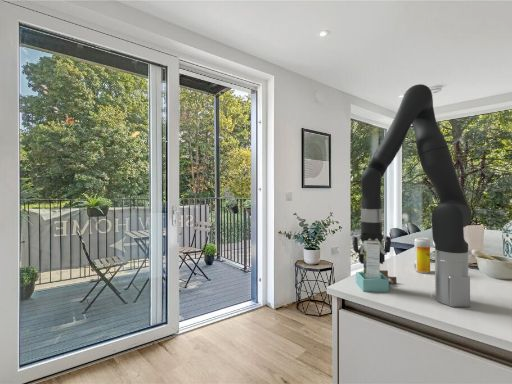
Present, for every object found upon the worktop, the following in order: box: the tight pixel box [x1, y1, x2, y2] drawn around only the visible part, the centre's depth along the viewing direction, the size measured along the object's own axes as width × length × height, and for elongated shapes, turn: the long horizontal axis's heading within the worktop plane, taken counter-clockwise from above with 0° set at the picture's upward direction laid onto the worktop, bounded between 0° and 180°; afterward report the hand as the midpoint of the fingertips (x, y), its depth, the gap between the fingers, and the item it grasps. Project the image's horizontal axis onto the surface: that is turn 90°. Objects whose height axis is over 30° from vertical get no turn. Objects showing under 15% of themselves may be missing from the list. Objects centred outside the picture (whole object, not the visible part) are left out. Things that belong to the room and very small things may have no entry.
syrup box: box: [362, 240, 381, 279], centre depth 111 cm, size 6×6×14 cm
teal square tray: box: [355, 271, 390, 293], centre depth 111 cm, size 9×9×4 cm
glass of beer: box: [413, 236, 431, 275], centre depth 129 cm, size 6×6×15 cm
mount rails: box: [380, 269, 397, 284], centre depth 118 cm, size 12×6×2 cm, turn 177°
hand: (371, 263), depth 111 cm, fingers closed on syrup box, 6 cm apart
